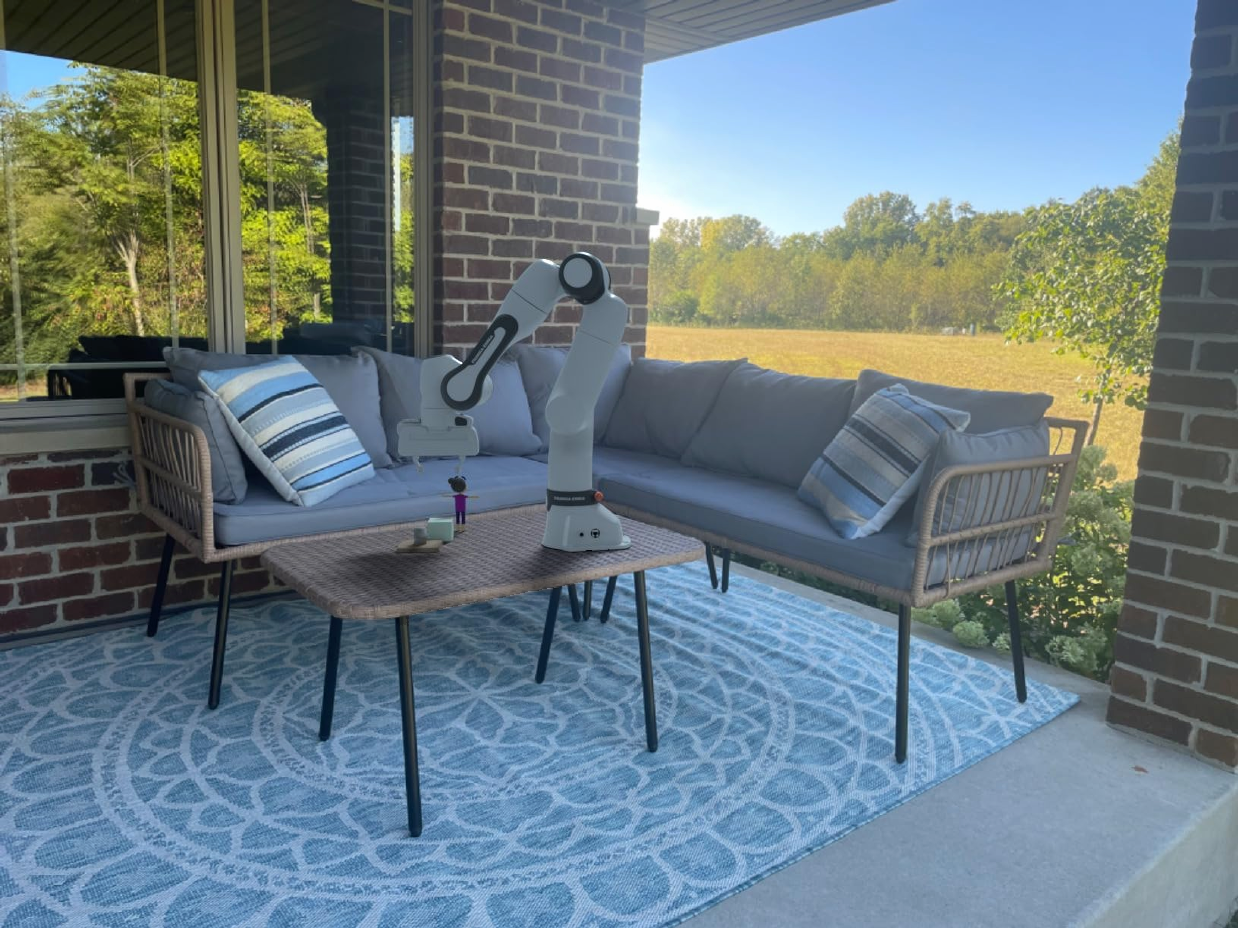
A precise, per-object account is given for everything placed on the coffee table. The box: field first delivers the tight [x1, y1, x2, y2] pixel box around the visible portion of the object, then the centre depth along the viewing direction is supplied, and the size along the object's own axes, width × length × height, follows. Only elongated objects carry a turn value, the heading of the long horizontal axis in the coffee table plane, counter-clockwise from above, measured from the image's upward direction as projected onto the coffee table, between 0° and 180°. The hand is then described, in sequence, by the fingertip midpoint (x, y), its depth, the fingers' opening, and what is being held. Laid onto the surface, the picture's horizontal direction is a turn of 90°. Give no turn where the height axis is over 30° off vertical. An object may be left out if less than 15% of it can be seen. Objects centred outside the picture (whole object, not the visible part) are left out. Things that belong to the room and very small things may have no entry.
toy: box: [441, 475, 480, 532], centre depth 239 cm, size 10×6×15 cm, turn 82°
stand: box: [396, 526, 444, 553], centre depth 220 cm, size 10×10×5 cm
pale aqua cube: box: [427, 517, 455, 542], centre depth 230 cm, size 6×6×5 cm
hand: (439, 472), depth 228 cm, fingers open, 8 cm apart
